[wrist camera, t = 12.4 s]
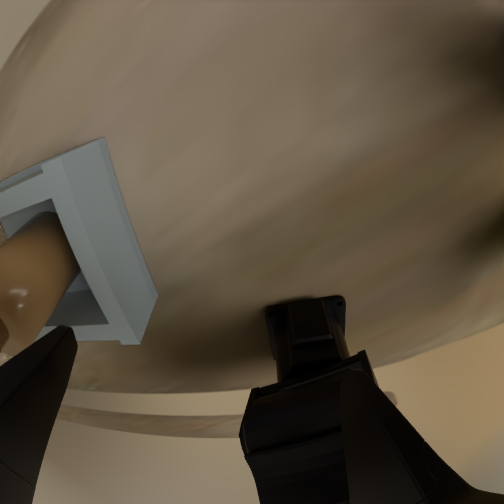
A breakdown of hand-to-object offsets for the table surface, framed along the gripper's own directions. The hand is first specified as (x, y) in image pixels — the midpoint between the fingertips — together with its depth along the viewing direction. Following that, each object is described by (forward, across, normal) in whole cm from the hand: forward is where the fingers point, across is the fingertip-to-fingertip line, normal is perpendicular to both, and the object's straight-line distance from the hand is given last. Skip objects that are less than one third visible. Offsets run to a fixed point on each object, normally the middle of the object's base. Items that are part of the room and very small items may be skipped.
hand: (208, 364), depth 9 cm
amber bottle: (+12, +14, +5) cm, 19 cm away
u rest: (+13, +14, +5) cm, 19 cm away
